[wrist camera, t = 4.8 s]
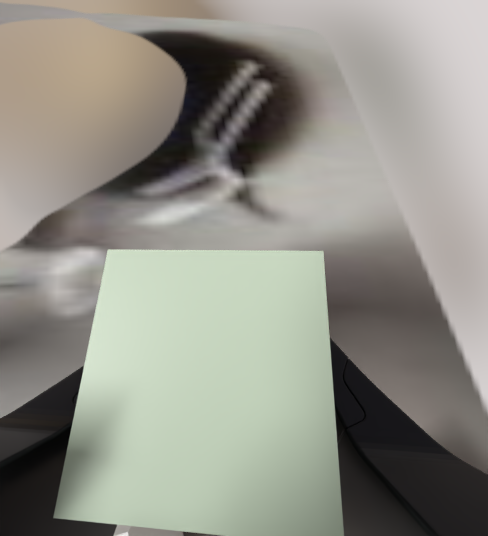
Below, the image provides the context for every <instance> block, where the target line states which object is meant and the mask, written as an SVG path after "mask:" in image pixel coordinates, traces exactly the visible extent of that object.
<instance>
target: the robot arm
mask: <svg viewBox="0 0 488 536" xmlns="http://www.w3.org/2000/svg"><path fill="white" fill-rule="evenodd" d="M330 350H331V364H332V377H333V391H334V405H335V419H336V432H337V446H338V460H339V474H340V487H341V501H342V515H343V528H344V536H488V475H487V474H486V473H484V472H482V471H480V470H478V469H476V468H475V467H473V466H471V465H469V464H467V463H466V462H464V461H462V460H461V459H459V458H458V457H456V456H455V455H453V454H452V453H450V452H449V451H448V450H446V449H445V448H444V447H442V446H441V445H440V444H439V443H437V442H436V441H435V440H434V439H433V438H431V437H430V436H429V435H428V434H427V433H426V432H425V431H424V430H423V429H421V428H420V427H419V426H418V425H417V424H416V423H415V422H414V421H413V420H412V419H411V418H410V417H408V416H407V415H406V414H405V413H404V412H403V411H402V410H401V409H400V408H399V407H398V406H397V405H395V404H394V403H393V402H392V401H391V400H390V399H389V398H388V397H387V396H386V395H385V394H384V393H383V392H382V391H381V390H379V389H378V388H377V387H376V386H375V385H374V384H373V383H372V382H371V381H370V380H369V379H368V378H367V377H366V376H365V375H364V374H363V373H362V372H361V371H360V370H359V369H358V367H357V366H356V365H355V364H354V363H353V362H352V361H351V360H350V359H348V357H347V356H346V355H345V354H344V352H343V351H342V350H341V349H340V348H339V347H338V346H337V345H336V344H335V343H334V342H333V341H332V339H331V338H330ZM83 369H84V366H83V367H81V368H80V369H78V370H77V371H75V372H74V373H72V374H71V375H69V376H68V377H66V378H65V379H63V380H61V381H60V382H58V383H57V384H55V385H54V386H52V387H51V388H49V389H48V390H46V391H44V392H43V393H41V394H40V395H38V396H37V397H35V398H34V399H32V400H31V401H29V402H27V403H26V404H24V405H23V406H21V407H20V408H18V409H16V410H15V411H13V412H11V413H10V414H8V415H6V416H4V417H2V418H0V536H113V535H114V533H115V530H116V527H117V525H116V524H106V523H97V522H87V521H77V520H68V519H58V518H53V516H54V512H55V507H56V502H57V497H58V492H59V487H60V482H61V477H62V472H63V467H64V462H65V458H66V453H67V448H68V443H69V438H70V433H71V428H72V423H73V418H74V413H75V408H76V404H77V399H78V394H79V389H80V384H81V379H82V374H83Z"/></svg>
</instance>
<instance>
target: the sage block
mask: <svg viewBox="0 0 488 536" xmlns="http://www.w3.org/2000/svg"><path fill="white" fill-rule="evenodd" d="M53 518H58V519H68V520H77V521H87V522H97V523H106V524H116V525H126V526H135V527H145V528H155V529H164V530H174V531H184V532H193V533H203V534H212V535H222V536H344V528H343V515H342V501H341V487H340V474H339V460H338V446H337V432H336V419H335V405H334V391H333V377H332V364H331V350H330V336H329V322H328V309H327V295H326V281H325V268H324V254H323V251H239V250H108V252H107V256H106V261H105V266H104V271H103V276H102V281H101V286H100V291H99V296H98V301H97V305H96V310H95V315H94V320H93V325H92V330H91V335H90V340H89V345H88V350H87V355H86V359H85V364H84V369H83V374H82V379H81V384H80V389H79V394H78V399H77V404H76V408H75V413H74V418H73V423H72V428H71V433H70V438H69V443H68V448H67V453H66V458H65V462H64V467H63V472H62V477H61V482H60V487H59V492H58V497H57V502H56V507H55V512H54V516H53Z"/></svg>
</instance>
